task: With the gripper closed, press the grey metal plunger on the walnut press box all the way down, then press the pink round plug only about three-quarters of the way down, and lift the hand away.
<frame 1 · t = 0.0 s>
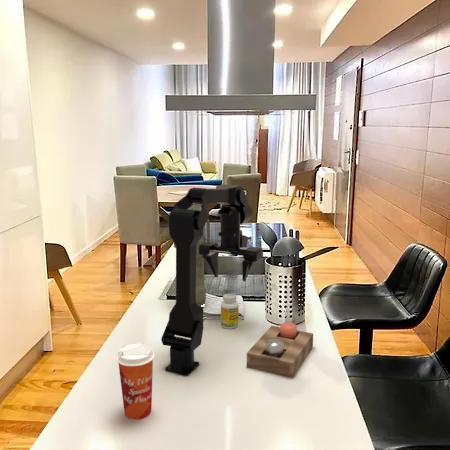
hand: (230, 279, 140), 15 cm above the kitchen island, fingers open, 9 cm apart
press box: (281, 356, 124), on the kitchen island
paper cup: (138, 412, 100), on the kitchen island
pink round plug: (288, 331, 128), point 5 cm above the kitchen island, slide at 0.0 cm
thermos: (192, 306, 159), on the kitchen island
supplement bottle: (229, 326, 143), on the kitchen island
grey plunger: (274, 348, 118), point 5 cm above the kitchen island, slide at 0.0 cm
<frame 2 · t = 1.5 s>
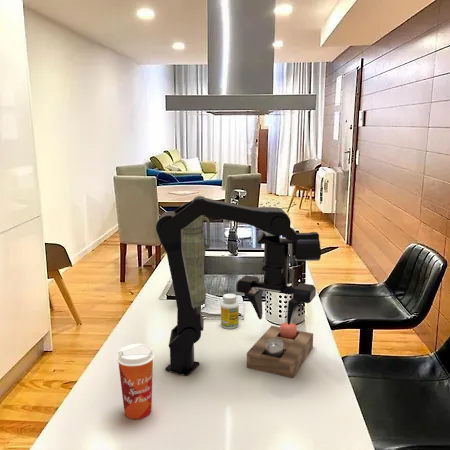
hand: (274, 321, 117), 12 cm above the kitchen island, fingers open, 7 cm apart
nothing on the kitchen island moved.
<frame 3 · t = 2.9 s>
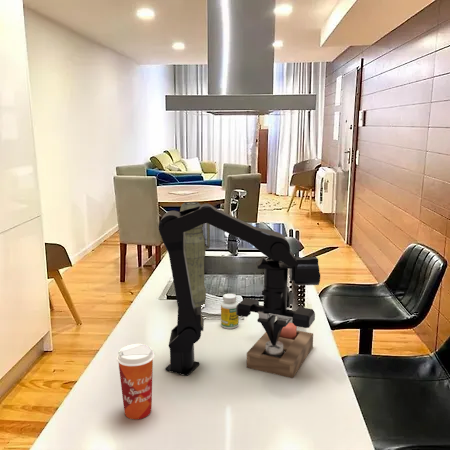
hand: (274, 344, 118), 6 cm above the kitchen island, fingers closed, pressing on grey plunger
grey plunger: (274, 350, 118), point 4 cm above the kitchen island, slide at 0.5 cm, touching gripper
everything else where it was.
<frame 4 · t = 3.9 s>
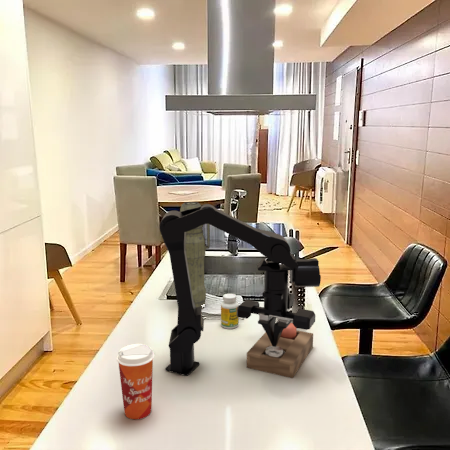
hand: (274, 346, 118), 6 cm above the kitchen island, fingers closed
grey plunger: (274, 355, 118), point 3 cm above the kitchen island, slide at 2.0 cm
everything else where it was.
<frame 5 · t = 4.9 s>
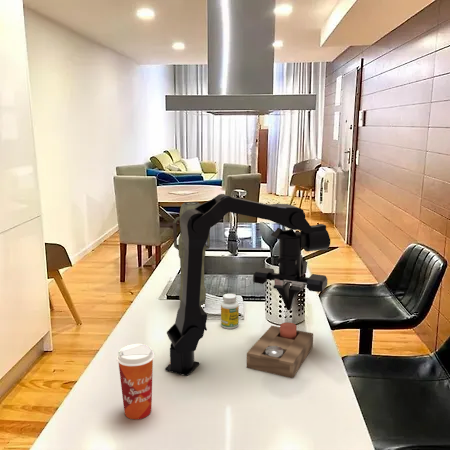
hand: (289, 309, 126), 11 cm above the kitchen island, fingers closed
nothing on the kitchen island moved.
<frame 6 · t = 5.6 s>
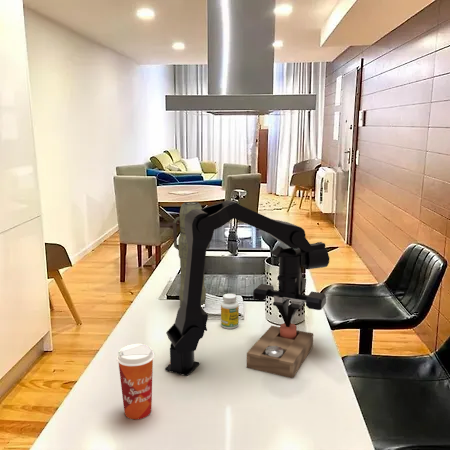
hand: (288, 326, 127), 6 cm above the kitchen island, fingers closed, pressing on pink round plug
pink round plug: (288, 331, 128), point 5 cm above the kitchen island, slide at 0.2 cm, touching gripper
everything else where it was.
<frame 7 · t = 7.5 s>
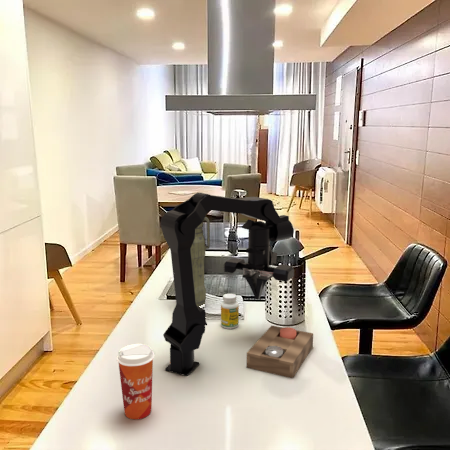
hand: (257, 298, 130), 13 cm above the kitchen island, fingers closed
pink round plug: (288, 336, 128), point 3 cm above the kitchen island, slide at 1.5 cm
everything else where it was.
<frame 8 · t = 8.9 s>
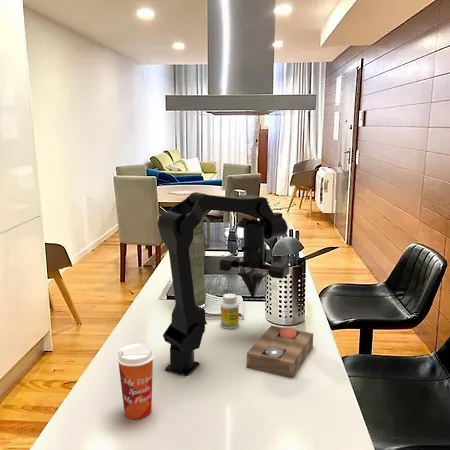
hand: (253, 296, 131), 13 cm above the kitchen island, fingers closed
nothing on the kitchen island moved.
at the end: grey plunger slide at 2.0 cm; pink round plug slide at 1.5 cm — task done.
